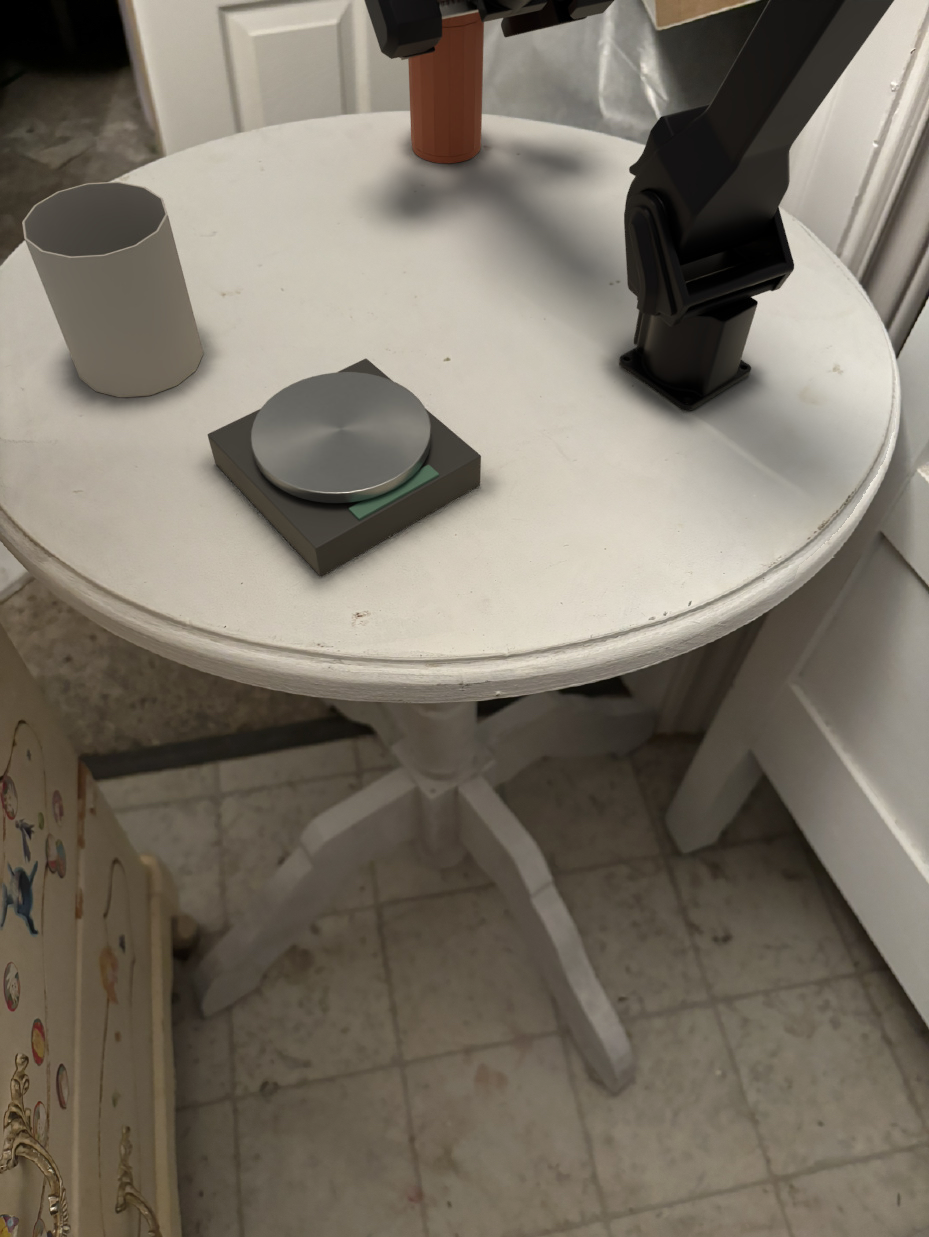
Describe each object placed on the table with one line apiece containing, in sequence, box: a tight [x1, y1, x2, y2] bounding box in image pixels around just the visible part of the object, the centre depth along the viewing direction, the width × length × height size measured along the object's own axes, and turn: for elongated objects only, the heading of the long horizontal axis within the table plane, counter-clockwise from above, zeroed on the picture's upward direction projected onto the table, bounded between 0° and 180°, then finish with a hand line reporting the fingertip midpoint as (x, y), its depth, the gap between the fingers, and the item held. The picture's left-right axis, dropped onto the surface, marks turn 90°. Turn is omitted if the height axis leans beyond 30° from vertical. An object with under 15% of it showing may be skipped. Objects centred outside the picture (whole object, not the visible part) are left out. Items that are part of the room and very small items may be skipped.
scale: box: [207, 358, 482, 577], centre depth 56 cm, size 12×12×3 cm
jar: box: [407, 0, 485, 164], centre depth 76 cm, size 6×6×12 cm
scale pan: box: [251, 371, 431, 503], centre depth 54 cm, size 10×10×1 cm
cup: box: [21, 181, 205, 398], centre depth 59 cm, size 8×8×10 cm
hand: (453, 41), depth 73 cm, fingers open, 9 cm apart
